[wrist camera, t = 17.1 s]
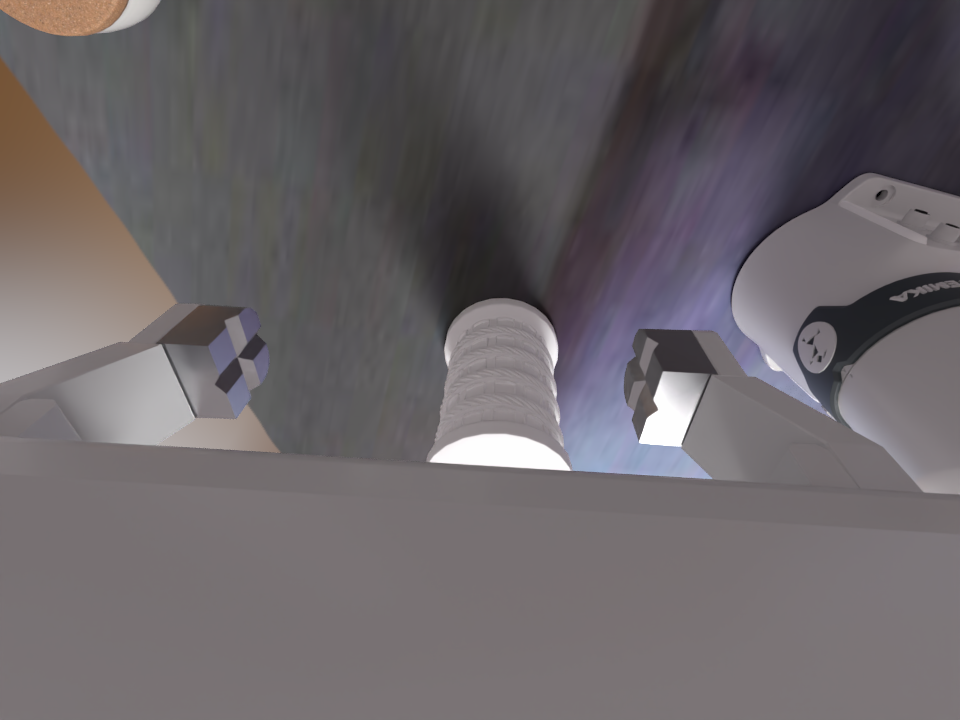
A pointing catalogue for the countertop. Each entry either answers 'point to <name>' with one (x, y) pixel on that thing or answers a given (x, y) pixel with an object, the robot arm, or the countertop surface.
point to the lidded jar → (79, 14)
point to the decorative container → (500, 390)
